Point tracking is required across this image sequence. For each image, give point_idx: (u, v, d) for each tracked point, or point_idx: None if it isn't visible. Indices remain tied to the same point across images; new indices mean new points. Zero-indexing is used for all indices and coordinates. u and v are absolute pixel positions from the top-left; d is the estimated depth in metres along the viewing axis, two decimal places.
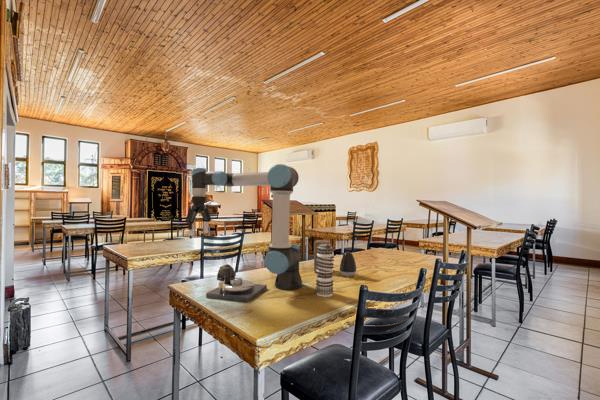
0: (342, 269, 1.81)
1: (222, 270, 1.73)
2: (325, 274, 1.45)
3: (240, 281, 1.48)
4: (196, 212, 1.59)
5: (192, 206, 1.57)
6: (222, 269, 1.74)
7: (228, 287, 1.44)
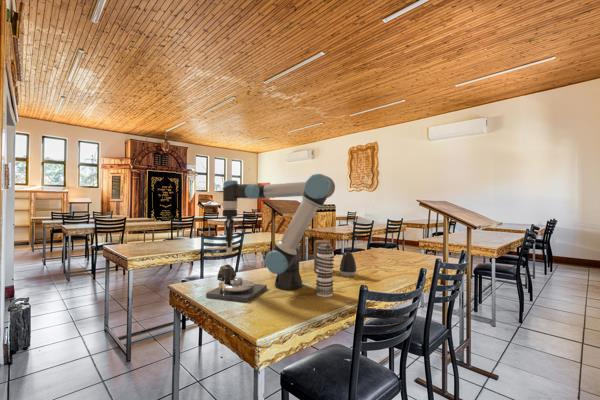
0: (342, 269, 1.81)
1: (222, 270, 1.73)
2: (325, 274, 1.45)
3: (240, 281, 1.48)
4: (231, 228, 1.56)
5: (229, 225, 1.52)
6: (222, 269, 1.74)
7: (228, 287, 1.44)
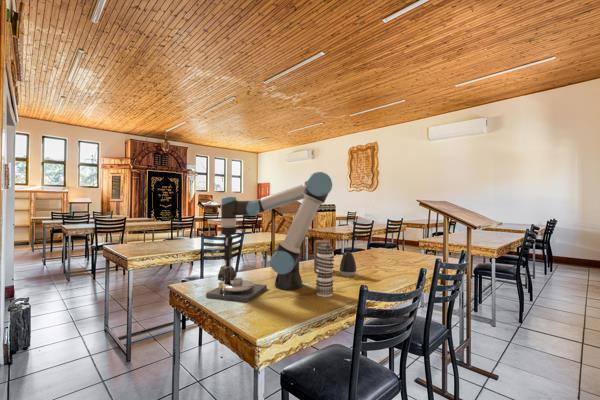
0: (342, 269, 1.81)
1: (223, 270, 1.73)
2: (325, 274, 1.45)
3: (240, 281, 1.48)
4: (230, 246, 1.51)
5: (227, 243, 1.47)
6: (223, 269, 1.74)
7: (228, 287, 1.44)
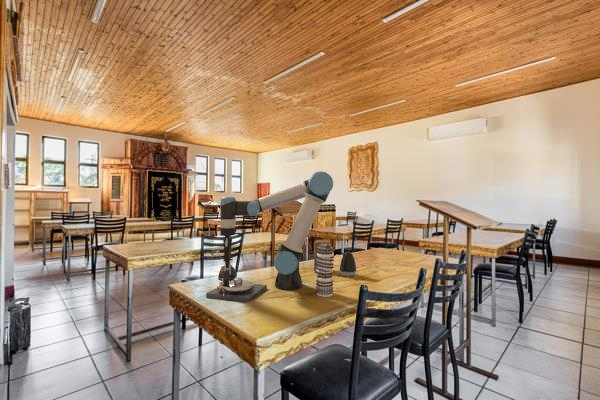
0: (342, 269, 1.81)
1: None
2: (325, 274, 1.45)
3: (242, 280, 1.49)
4: (230, 248, 1.49)
5: (227, 245, 1.44)
6: (223, 269, 1.73)
7: (238, 288, 1.43)
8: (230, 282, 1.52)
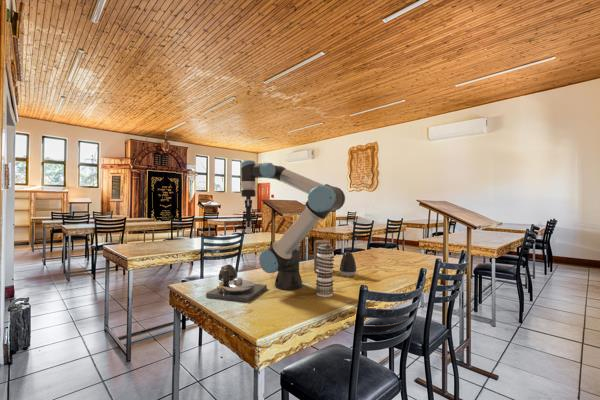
0: (342, 269, 1.81)
1: None
2: (325, 274, 1.45)
3: (242, 280, 1.49)
4: (250, 208, 1.58)
5: (249, 204, 1.54)
6: (223, 269, 1.73)
7: (238, 288, 1.43)
8: (230, 282, 1.52)
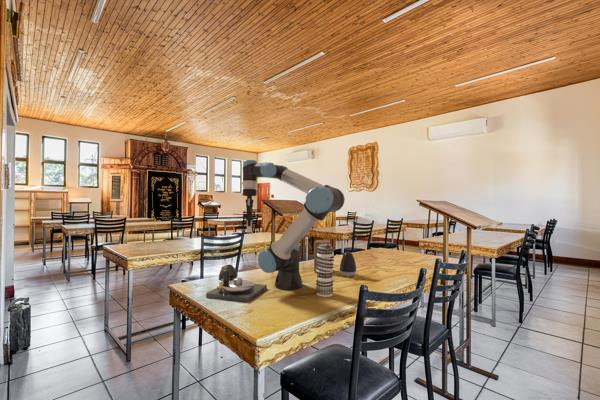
0: (342, 269, 1.81)
1: None
2: (325, 274, 1.45)
3: (242, 280, 1.49)
4: (251, 207, 1.59)
5: (250, 203, 1.55)
6: (224, 269, 1.73)
7: (238, 288, 1.43)
8: (230, 282, 1.52)
